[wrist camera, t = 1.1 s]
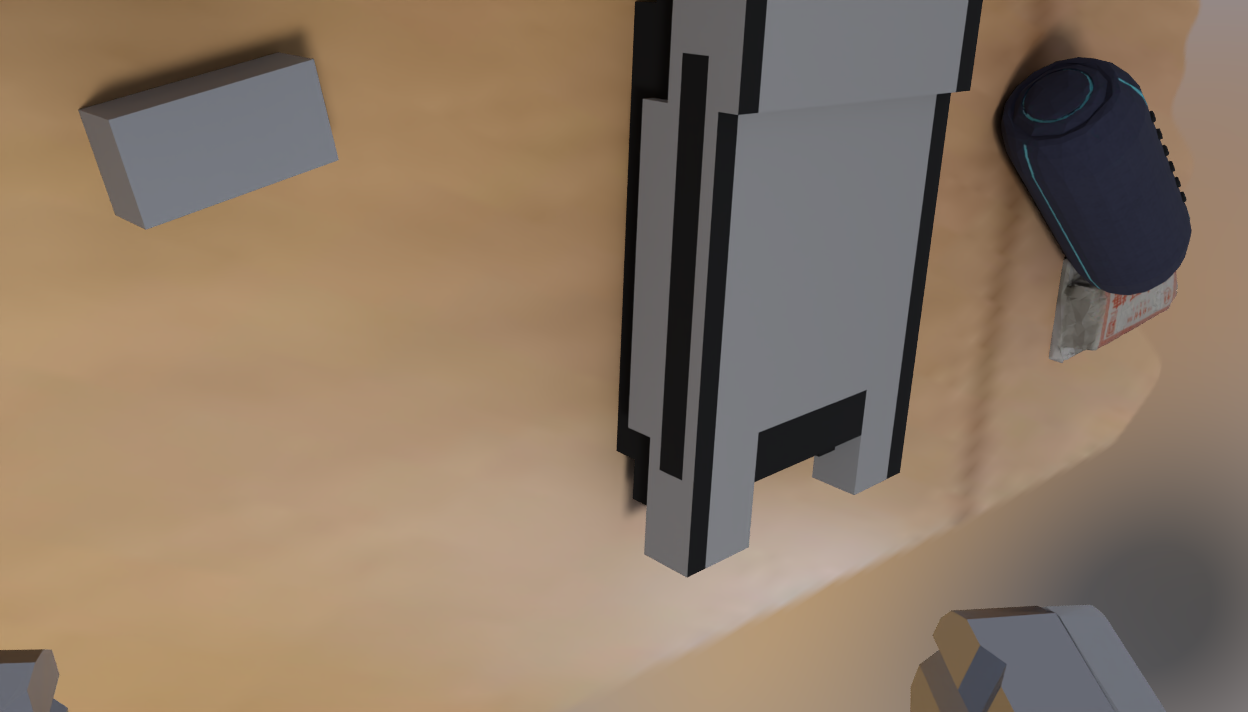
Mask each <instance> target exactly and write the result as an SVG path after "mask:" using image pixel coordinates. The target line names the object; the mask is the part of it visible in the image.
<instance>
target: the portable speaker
mask: <svg viewBox="0 0 1248 712" xmlns="http://www.w3.org/2000/svg"><path fill="white" fill-rule="evenodd" d="M1155 121H1156V118H1155V115H1154V112H1153V111H1150V112H1149V110H1148V105H1147V103H1146V101H1145V99H1144V97H1143V94H1142V91H1141V89H1140V86H1139V85H1138V84H1137V83H1136V82H1135V80H1134V79H1133V78H1132V77H1131V76H1130V75H1129V74H1128V73H1127V72H1125V71H1123V70H1122V69H1120V68H1119V67H1117V66H1116V65H1114V64H1113V63H1110V62H1106V61H1102V60H1098V59H1093V58H1081V57H1077V58H1072V59H1067V60H1062V61H1057V62H1054V63H1052V64H1050V65H1048V66H1046V67H1044V68H1042V69H1040V70H1037V71H1035V72H1034V73H1032V74H1031V75H1030V76H1029V77H1028V78H1027V79H1025V80H1024V81H1023V82H1022V83H1021V84H1020V85H1018V86H1017V87H1016V88H1015V90H1014V91H1013V93H1012V94H1011V96H1010V97H1009V99H1008V100H1007V102H1006V103H1005V106H1004V111H1003V116H1002V121H1001V131H1002V135H1003V139H1004V143H1005V147H1006V151H1007V154H1008V156H1009V157H1010V159H1011V161H1012V163H1013V164H1014V166H1015V168H1016V170H1017V171H1018V173H1019V175H1020V177H1021V178H1022V180H1023V182H1024V184H1025V185H1026V187H1027V189H1028V191H1029V192H1030V194H1031V196H1032V198H1033V199H1034V201H1035V203H1036V205H1037V206H1038V208H1039V210H1040V212H1041V213H1042V215H1043V217H1044V219H1045V220H1046V222H1047V224H1048V226H1049V227H1050V229H1051V231H1052V233H1053V234H1054V236H1055V238H1056V240H1057V241H1058V243H1059V245H1060V247H1061V248H1062V250H1063V252H1064V254H1065V255H1066V257H1067V259H1068V261H1069V262H1070V263H1071V265H1072V266H1073V267H1074V269H1075V270H1076V271H1077V273H1078V274H1080V275H1081V276H1082V277H1083V278H1084V279H1085V280H1086V281H1087V282H1089V283H1090V284H1091V285H1093V286H1095V287H1097V288H1099V289H1101V290H1103V291H1106V292H1108V293H1112V294H1119V295H1133V294H1138V293H1143V292H1147V291H1149V290H1151V289H1153V288H1155V287H1157V286H1158V285H1160V284H1162V283H1164V282H1166V281H1167V280H1168V279H1169V278H1170V277H1171V276H1172V275H1173V274H1174V273H1175V271H1176V270H1177V269H1178V268H1179V266H1180V265H1181V263H1182V261H1183V259H1184V258H1185V255H1186V251H1187V247H1188V244H1189V240H1190V236H1191V225H1190V217H1189V214H1188V211H1187V207H1186V205H1185V203H1184V202H1185V201H1186V197H1185V194H1184V192H1180V190H1179V188H1178V187H1180V186H1181V184H1180V181H1179V178H1178V177H1174V175H1173V171H1175V168H1174V165H1173V163H1172V161H1169V162H1168V159H1167V157H1166V156H1168V155H1169V152H1168V149H1167V146H1165V145H1163V146H1162V144H1161V141H1160V139H1162V138H1163V137H1162V133H1161V131H1160V128H1159V129H1156V128H1155V125H1154V123H1153V122H1155Z"/></svg>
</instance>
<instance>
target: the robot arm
mask: <svg viewBox="0 0 1248 712" xmlns="http://www.w3.org/2000/svg"><path fill="white" fill-rule="evenodd" d="M933 637H934V639H935V642H936V644H937V646H938V648H939V650H938V651H937V652H936V653H934V654H933V655H932V656H930V657H929V658H928V659H926V660H925V661H924V662H922V663H921V664H920V665H919V667H918V670H917V672H916V675H915V677H914V680H913V683H912V685H911V705H910V706H911V707H910V711H911V712H1166V711H1165V709H1164V708H1163V706H1162V704H1161V703H1160V701H1159V700H1158V698H1157V697H1156V695H1155V693H1154V692H1153V690H1152V689H1151V687H1150V686H1149V684H1148V683H1147V681H1146V679H1145V678H1144V676H1143V675H1142V673H1141V672H1140V670H1139V668H1138V667H1137V665H1136V664H1135V663H1134V661H1133V659H1132V658H1131V656H1130V655H1129V653H1128V651H1127V650H1126V648H1125V647H1124V645H1123V643H1122V642H1121V640H1120V639H1119V637H1118V636H1117V634H1116V632H1115V631H1114V629H1113V628H1112V626H1111V625H1110V623H1109V622H1108V620H1107V618H1106V617H1105V616H1104V614H1103V613H1102V612H1100V611H1099V610H1098V609H1096V608H1095V607H1094V606H1092V605H1071V606H1049V607H1039V606H1025V607H1008V608H991V609H990V608H989V609H971V610H954V611H950V612H949V613H947V614H946V615H945V616H943V617H942V618H941V619H940V621H939V623H938V625H937V627H936V629H935V631H934V634H933ZM58 678H59V672H58V669H57V665H56V662H55V659H54V655H53V652H52V650H45V649H40V650H0V712H68V708H67V707H65V706H64V705H62V704H61V703H59V702H58V701H56V700H55V699H53V697H54V693H55V689H56V685H57V682H58Z"/></svg>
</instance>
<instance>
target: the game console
mask: <svg viewBox="0 0 1248 712" xmlns="http://www.w3.org/2000/svg"><path fill="white" fill-rule="evenodd" d="M982 2H983V0H657V2H635V17H634V41H633V65H632V90H631V114H630V138H629V162H628V187H627V211H626V235H625V260H624V284H623V308H622V333H621V357H620V381H619V406H618V430H617V451H618V452H620V453H622V454H624V455H626V456H629V457H631V458H633V459H635V466H634V487H633V499H635V500H637V501H638V502H640V503H642V504H644V505H646V506H647V511H646V530H645V549H644V554H645V555H647V556H649V557H651V558H652V559H654V560H656V561H658V562H660V563H662V564H663V565H665V566H667V567H669V568H671V569H672V570H674V571H676V572H678V573H680V574H682V575H683V576H685V577H689V576H691V575H693V574H695V573H697V572H699V571H701V570H703V569H705V568H707V567H709V566H711V565H713V564H716V563H718V562H720V561H722V560H724V559H726V558H728V557H730V556H732V555H734V554H736V553H738V552H740V551H742V550H744V549H746V548H748V547H749V537H750V525H751V514H752V502H753V491H754V482H756V481H758V480H760V479H763V478H765V477H767V476H770V475H772V474H774V473H776V472H779V471H781V470H783V469H786V468H788V467H790V466H792V465H795V464H797V463H799V462H802V461H804V460H806V459H808V458H811V457H813V456H814V465H813V475H812V477H813V478H815V479H818V480H820V481H822V482H825V483H827V484H829V485H832V486H834V487H836V488H839V489H841V490H843V491H846V492H848V493H850V494H853V495H855V494H857V493H859V492H861V491H863V490H865V489H867V488H869V487H871V486H873V485H875V484H878V483H880V482H882V481H884V480H886V479H888V478H890V477H892V476H894V475H896V474H898V473H900V467H901V459H902V452H903V445H904V437H905V430H906V422H907V415H908V408H909V400H910V393H911V385H912V378H913V370H914V363H915V356H916V348H917V341H918V333H919V326H920V319H921V311H922V304H923V296H924V289H925V282H926V274H927V267H928V259H929V252H930V244H931V237H932V230H933V222H934V215H935V207H936V200H937V193H938V185H939V178H940V170H941V163H942V155H943V148H944V141H945V133H946V126H947V118H948V111H949V104H950V96H951V93H952V92H961V91H970V87H971V80H972V73H973V66H974V59H975V52H976V44H977V37H978V30H979V23H980V16H981V9H982Z"/></svg>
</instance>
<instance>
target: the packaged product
mask: <svg viewBox="0 0 1248 712" xmlns="http://www.w3.org/2000/svg"><path fill="white" fill-rule="evenodd" d="M1177 287H1178V285H1177V280H1176V271H1175V273H1174V274H1173V275H1172V276H1171V277H1170V278H1169V279H1168V280H1167V281H1166V282H1164V283H1162V284H1160V285H1158V286H1157V287H1155V288H1153V289H1151V290H1149V291H1147V292H1143V293H1138V294H1133V295H1119V294H1112V293H1108V292H1106V291H1103V290H1101V289H1099V288H1097V287H1095V286H1093V285H1091V284H1090V283H1089V282H1087V281H1086V280H1085V279H1084V278H1083V277H1082V276H1081V275H1080V274H1078V273H1077V271H1076V270H1075V269H1074V267H1073V266H1072V265H1071V263H1070V262H1069V261H1068V259H1067V258H1066V259H1064V260H1063V266H1062V272H1061V279H1060V285H1059V292H1058V298H1057V305H1056V312H1055V319H1054V325H1053V332H1052V339H1051V346H1050V352H1049V359H1051V360H1054V361H1057V362H1060V363H1063V361H1064V360H1067V359H1069V358H1070V357H1072V356H1075V355H1076V354H1078V353H1080V352H1082V351H1083V350H1097V349H1098V348H1100V347H1101V346H1104V345H1106V344H1108V343H1110V342H1111V341H1113V340H1114V339H1116V338H1119V336H1121V335H1123V334H1125V333H1127V332H1129V331H1131V330H1132V329H1134V328H1135V327H1138V326H1139V325H1141V324H1143V323H1144V322H1146V321H1147V320H1149V319H1151V318H1153V317H1155V316H1156V315H1158V314H1159V313H1162V312H1164V311H1165V310H1167V309H1168V308H1169V306H1170V304H1171V302H1172V301H1173V299H1174V298H1175V297H1176V294H1177V291H1176V290H1177Z"/></svg>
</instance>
